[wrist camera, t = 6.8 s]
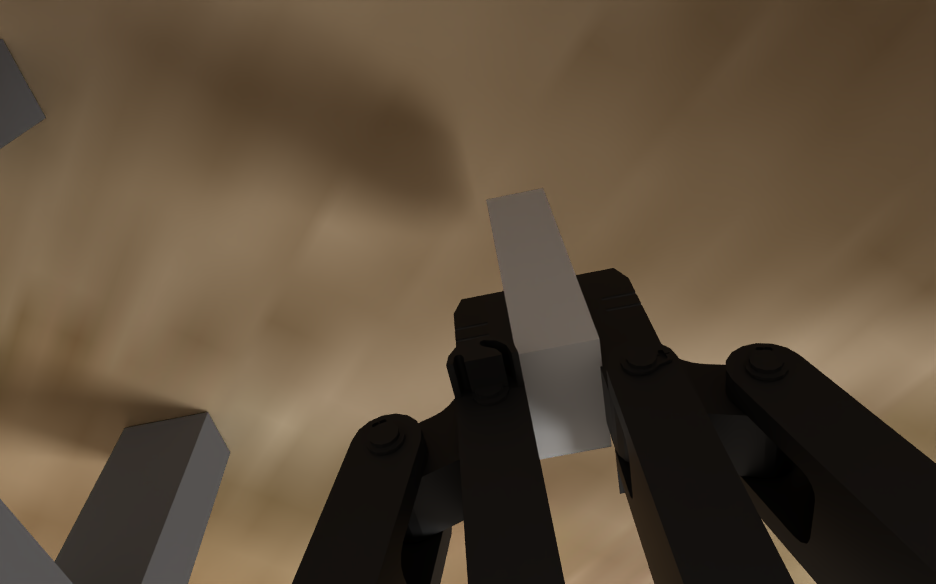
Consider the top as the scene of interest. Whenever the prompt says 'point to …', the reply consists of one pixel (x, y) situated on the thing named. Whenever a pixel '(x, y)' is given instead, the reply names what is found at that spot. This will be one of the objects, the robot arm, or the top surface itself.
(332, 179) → the top surface
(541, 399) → the robot arm
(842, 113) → the top surface
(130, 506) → the bridge
